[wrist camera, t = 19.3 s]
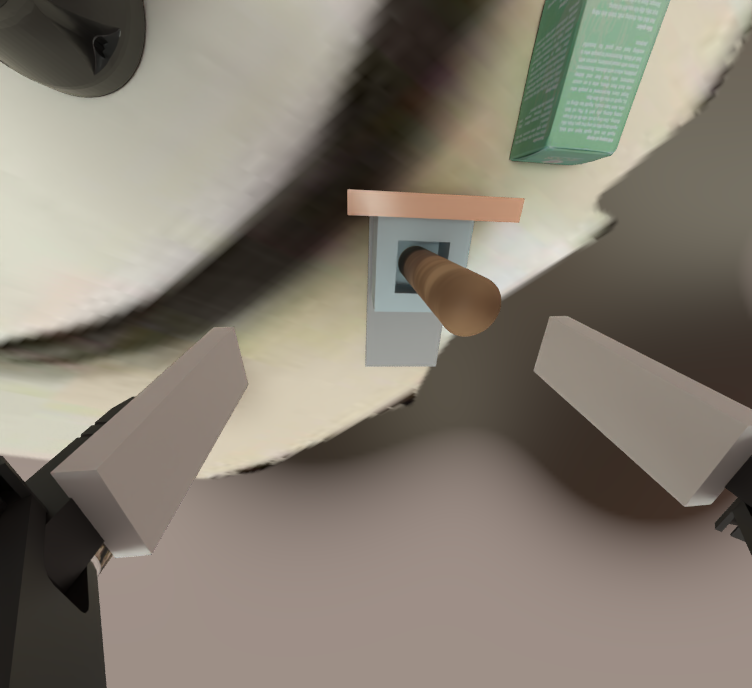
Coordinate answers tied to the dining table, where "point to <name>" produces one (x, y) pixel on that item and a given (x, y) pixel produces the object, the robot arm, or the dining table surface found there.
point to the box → (584, 78)
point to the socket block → (399, 235)
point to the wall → (433, 206)
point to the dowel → (451, 291)
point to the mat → (399, 331)
